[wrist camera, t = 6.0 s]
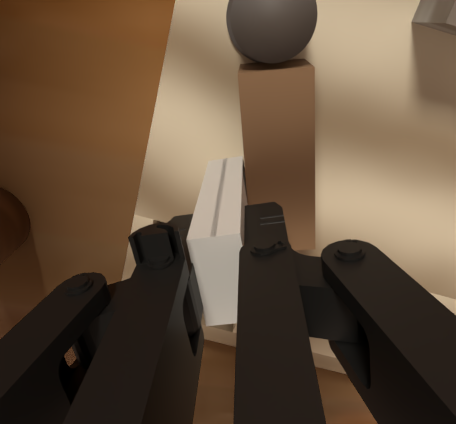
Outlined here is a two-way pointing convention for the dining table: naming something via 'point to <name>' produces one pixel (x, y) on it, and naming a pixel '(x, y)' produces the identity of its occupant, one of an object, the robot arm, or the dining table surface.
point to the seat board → (326, 132)
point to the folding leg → (278, 109)
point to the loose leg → (11, 224)
